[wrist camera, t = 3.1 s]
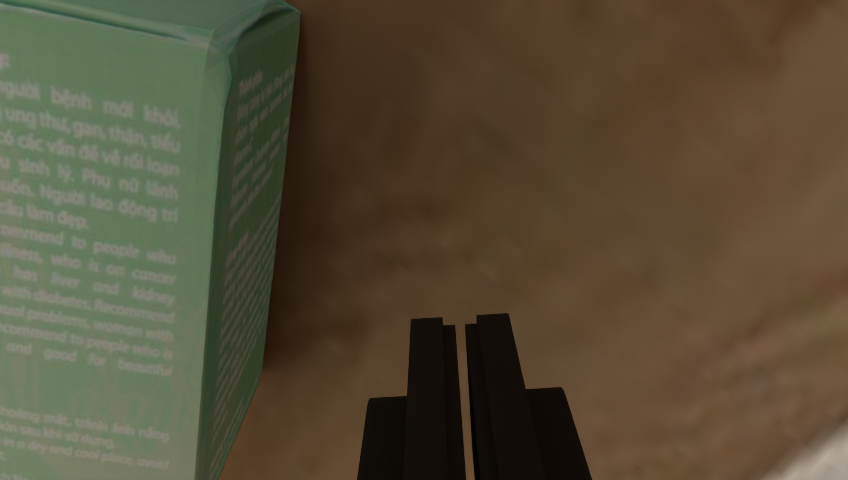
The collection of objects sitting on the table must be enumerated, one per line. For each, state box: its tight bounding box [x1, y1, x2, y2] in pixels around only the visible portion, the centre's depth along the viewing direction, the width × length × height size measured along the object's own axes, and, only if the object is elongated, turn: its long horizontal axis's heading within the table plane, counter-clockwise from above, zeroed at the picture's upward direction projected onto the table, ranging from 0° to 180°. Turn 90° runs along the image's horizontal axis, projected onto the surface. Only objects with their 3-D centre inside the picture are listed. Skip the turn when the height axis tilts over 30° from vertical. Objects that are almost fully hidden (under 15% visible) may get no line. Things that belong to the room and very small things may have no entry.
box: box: [0, 0, 301, 480], centre depth 16 cm, size 7×14×8 cm, turn 168°
